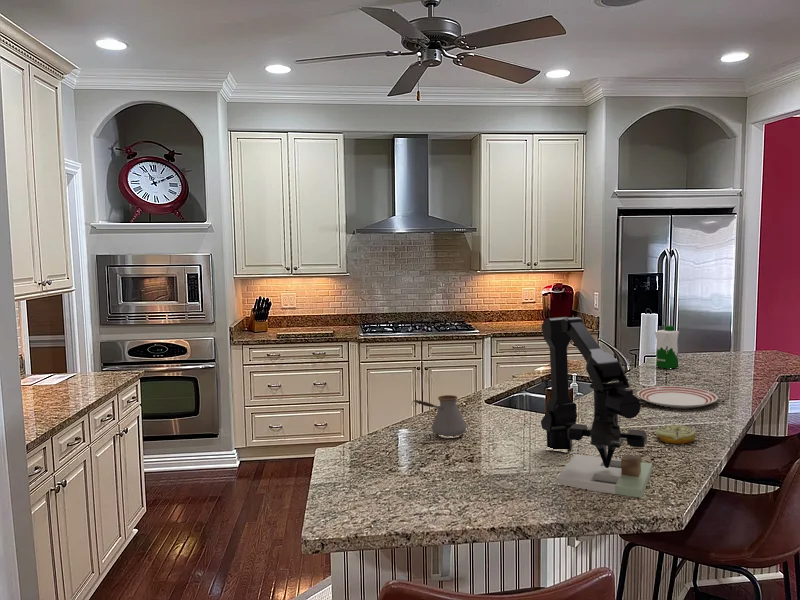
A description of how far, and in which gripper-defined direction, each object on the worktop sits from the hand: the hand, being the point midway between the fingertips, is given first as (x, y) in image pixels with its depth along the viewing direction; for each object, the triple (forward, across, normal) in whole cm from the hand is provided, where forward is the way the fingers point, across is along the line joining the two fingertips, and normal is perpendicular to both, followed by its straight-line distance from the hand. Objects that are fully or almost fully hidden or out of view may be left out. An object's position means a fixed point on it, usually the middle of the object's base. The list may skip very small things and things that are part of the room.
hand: (607, 467), depth 153 cm
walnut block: (+1, +6, 0) cm, 6 cm away
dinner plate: (+4, +10, +86) cm, 86 cm away
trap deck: (+3, 0, 0) cm, 3 cm away
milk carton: (+4, 0, +152) cm, 152 cm away
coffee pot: (+4, -55, +14) cm, 57 cm away
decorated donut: (+3, +13, +39) cm, 41 cm away
